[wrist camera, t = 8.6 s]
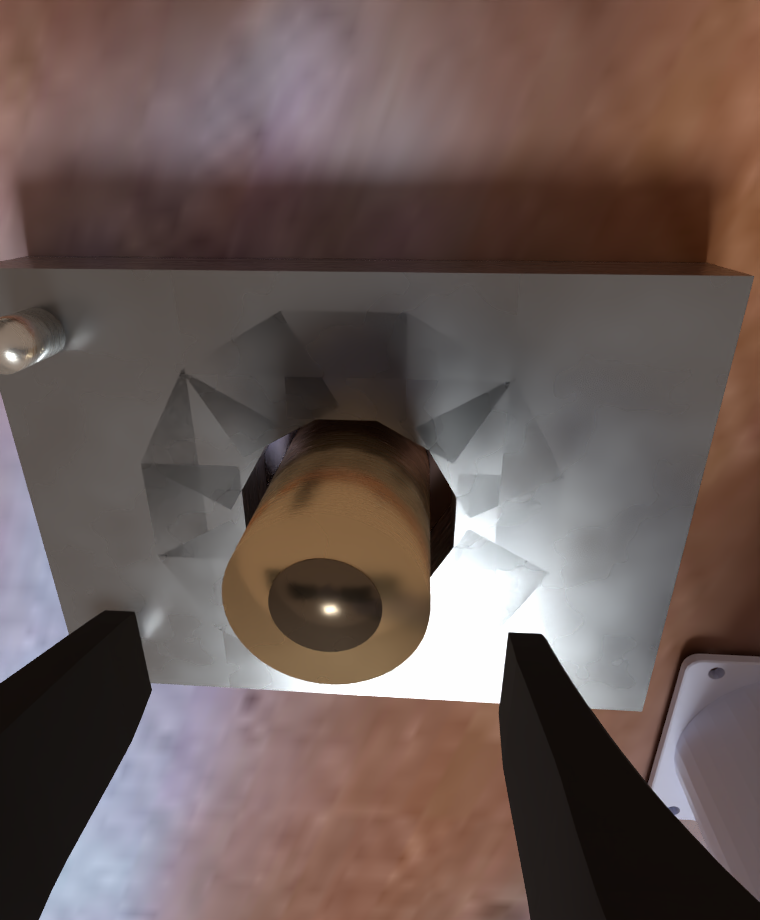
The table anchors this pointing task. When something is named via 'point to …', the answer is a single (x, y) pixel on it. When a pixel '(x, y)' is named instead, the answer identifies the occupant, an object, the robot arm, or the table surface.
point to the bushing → (336, 556)
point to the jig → (392, 404)
